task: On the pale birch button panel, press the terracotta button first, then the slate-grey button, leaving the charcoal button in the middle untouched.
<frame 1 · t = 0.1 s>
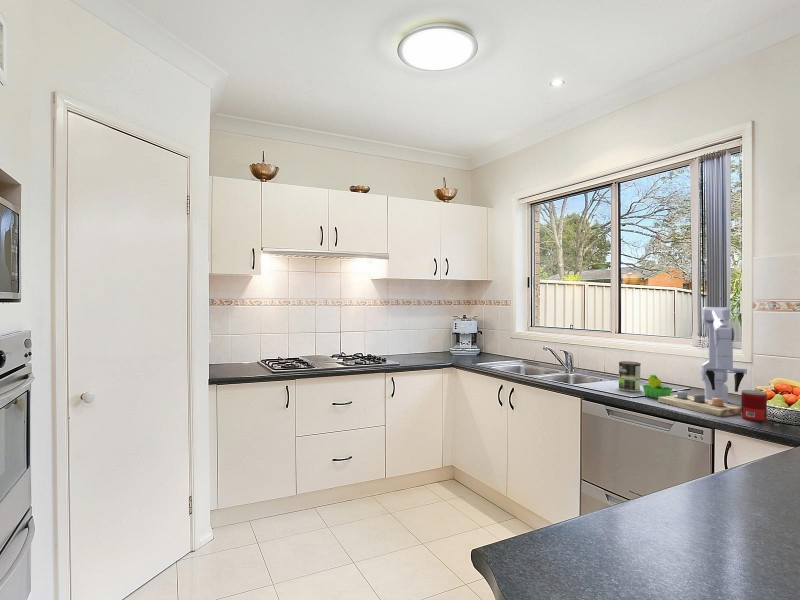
hand: (724, 390, 190), 10 cm above the countertop, tool pointing down, fingers open, 7 cm apart
fruit basket: (656, 397, 228), on the countertop
coffee can: (629, 390, 247), on the countertop
button slate: (682, 395, 214), point 4 cm above the countertop, slide at 0.0 cm
canned food: (753, 420, 187), on the countertop
panel: (699, 407, 207), on the countertop
button charcoal: (699, 399, 207), point 4 cm above the countertop, slide at 0.0 cm
button terracotta: (718, 402, 199), point 4 cm above the countertop, slide at 0.0 cm
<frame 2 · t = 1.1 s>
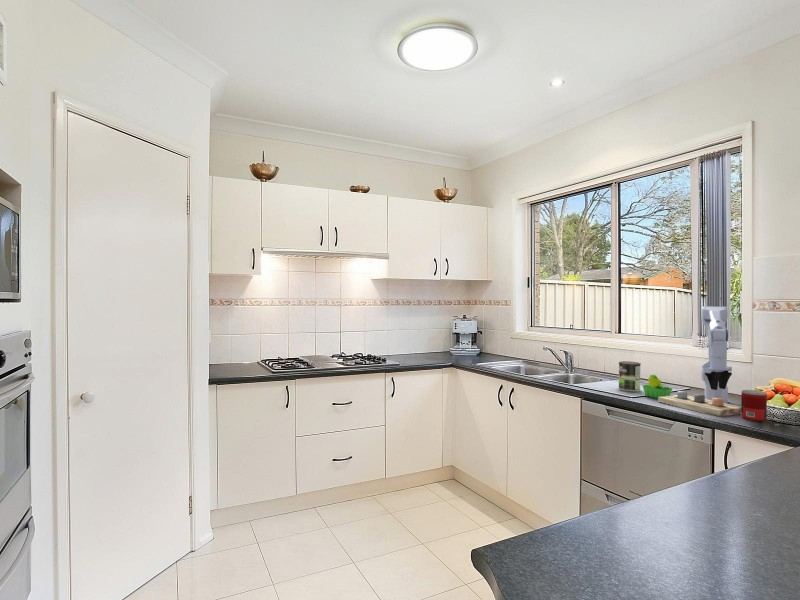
hand: (718, 389, 199), 9 cm above the countertop, tool pointing down, fingers open, 5 cm apart
nothing on the countertop moved.
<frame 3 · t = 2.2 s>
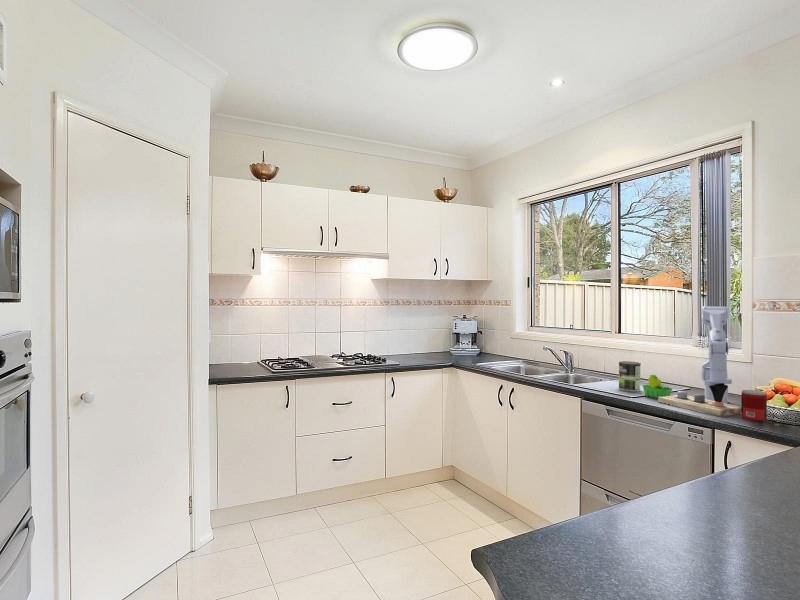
hand: (718, 401, 199), 4 cm above the countertop, tool pointing down, fingers closed, pressing on button terracotta
button terracotta: (717, 405, 200), point 2 cm above the countertop, slide at 1.3 cm, touching gripper
everything else where it was.
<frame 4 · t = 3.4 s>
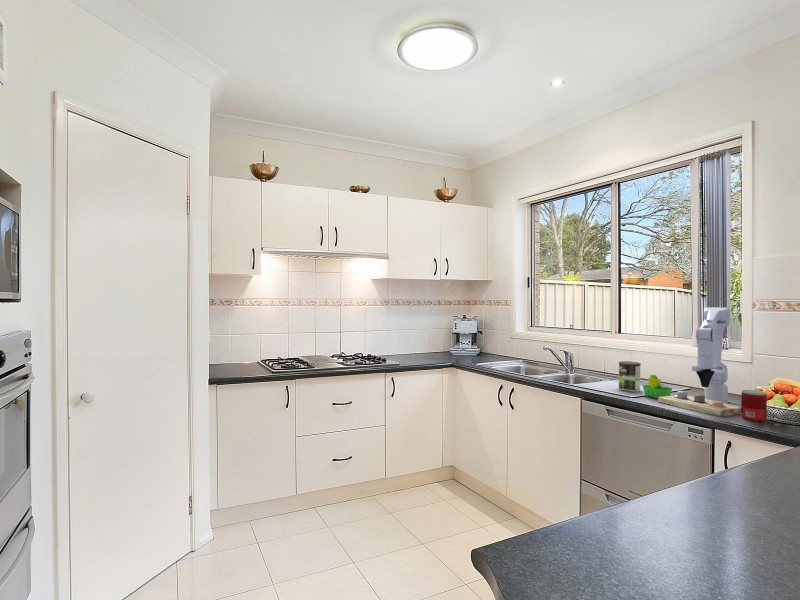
hand: (705, 386, 205), 9 cm above the countertop, tool pointing down, fingers closed
button terracotta: (717, 406, 200), point 2 cm above the countertop, slide at 1.4 cm
everything else where it was.
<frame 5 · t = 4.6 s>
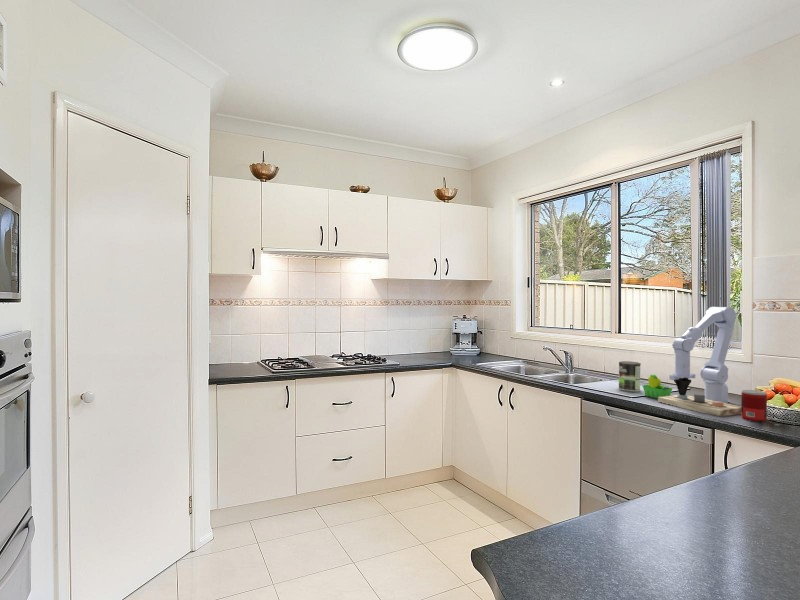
hand: (682, 394, 214), 4 cm above the countertop, tool pointing down, fingers closed, pressing on button slate
button slate: (682, 398, 214), point 2 cm above the countertop, slide at 1.4 cm, touching gripper
everything else where it was.
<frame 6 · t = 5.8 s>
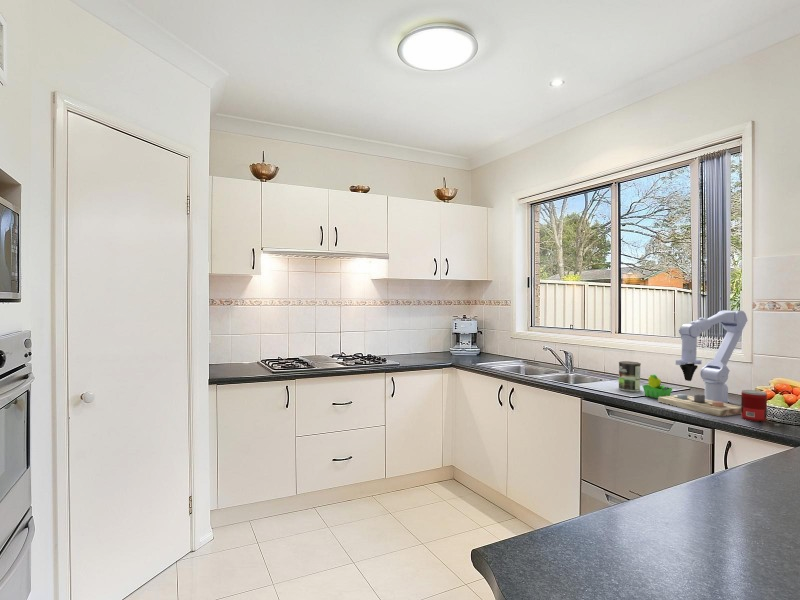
hand: (688, 380, 214), 10 cm above the countertop, tool pointing down, fingers closed
button slate: (682, 398, 214), point 2 cm above the countertop, slide at 1.4 cm
everything else where it was.
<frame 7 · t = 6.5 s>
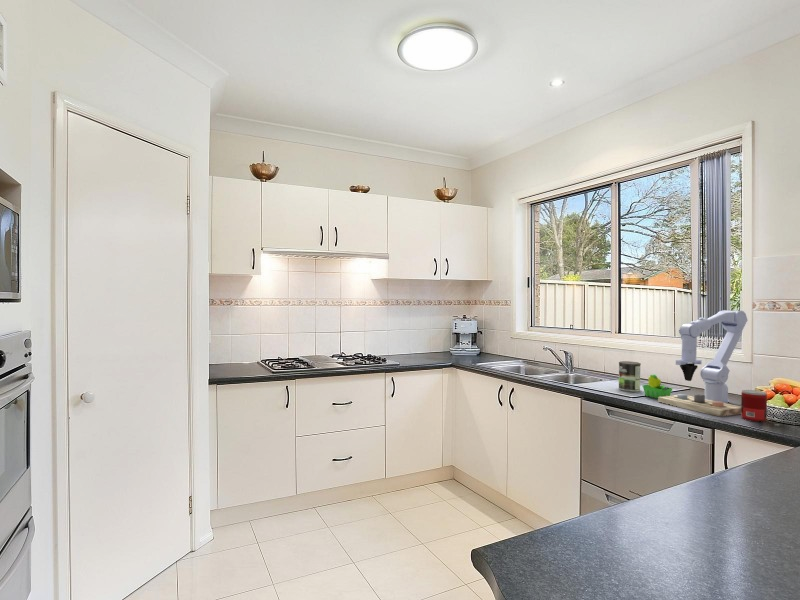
hand: (688, 380, 214), 10 cm above the countertop, tool pointing down, fingers closed
nothing on the countertop moved.
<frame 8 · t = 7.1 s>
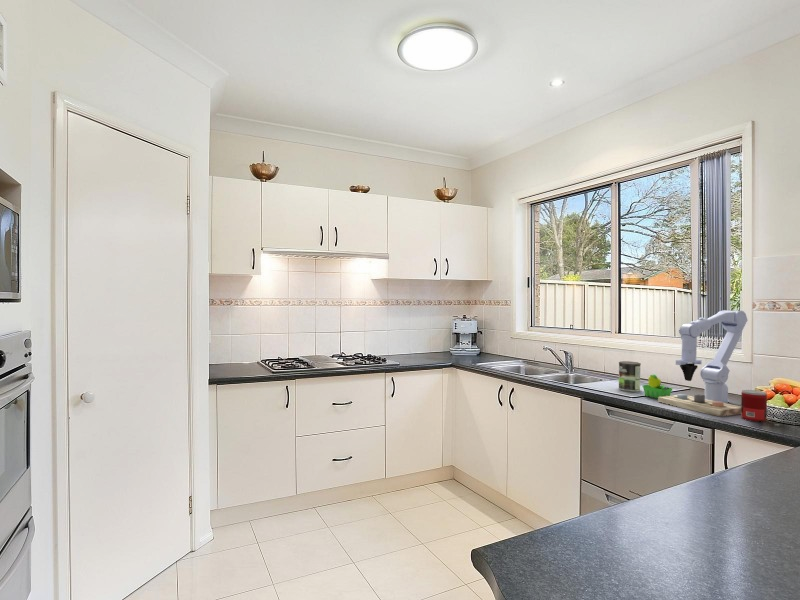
hand: (688, 380, 214), 10 cm above the countertop, tool pointing down, fingers closed
nothing on the countertop moved.
at the end: button terracotta slide at 1.4 cm; button slate slide at 1.4 cm; button charcoal slide at 0.0 cm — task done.
